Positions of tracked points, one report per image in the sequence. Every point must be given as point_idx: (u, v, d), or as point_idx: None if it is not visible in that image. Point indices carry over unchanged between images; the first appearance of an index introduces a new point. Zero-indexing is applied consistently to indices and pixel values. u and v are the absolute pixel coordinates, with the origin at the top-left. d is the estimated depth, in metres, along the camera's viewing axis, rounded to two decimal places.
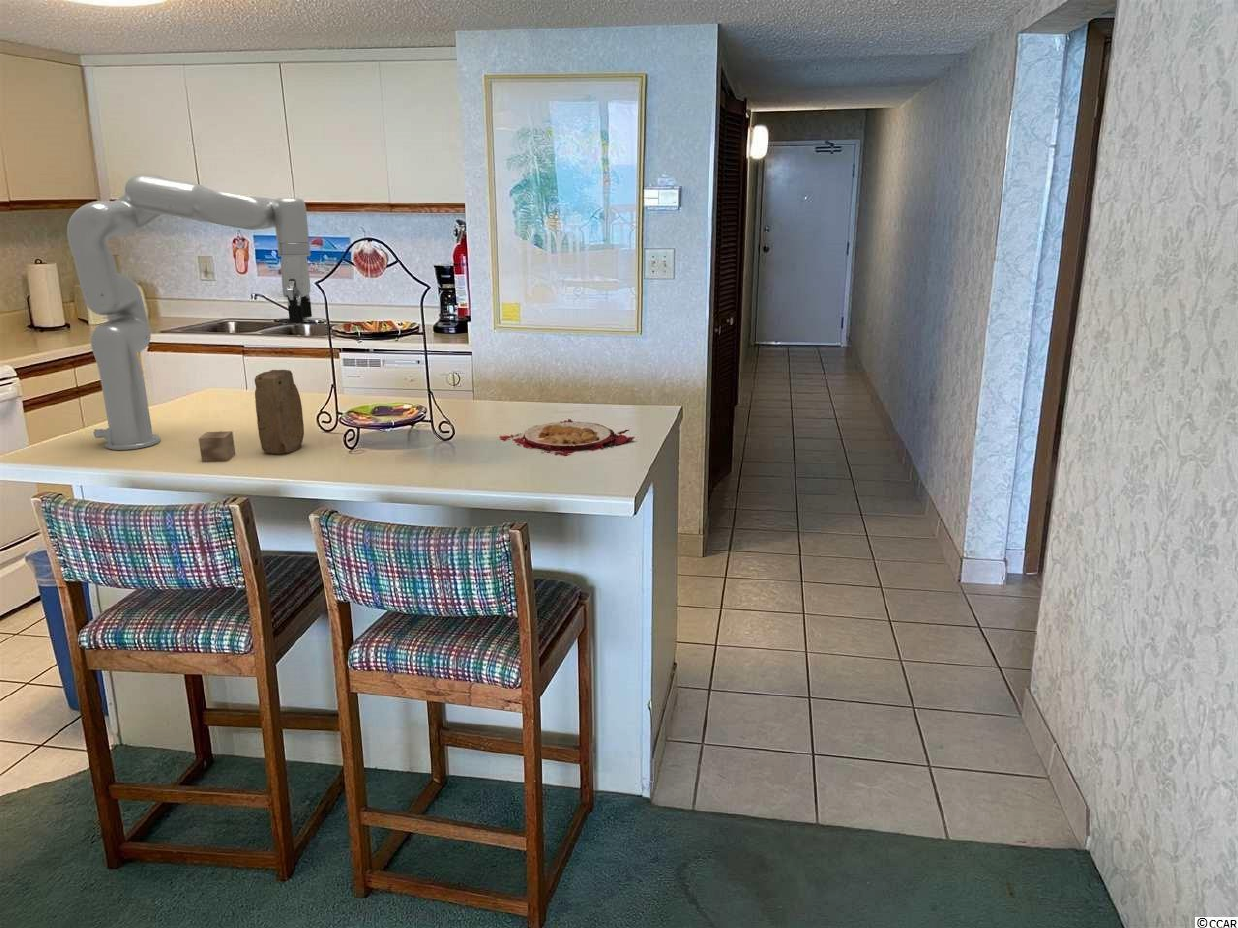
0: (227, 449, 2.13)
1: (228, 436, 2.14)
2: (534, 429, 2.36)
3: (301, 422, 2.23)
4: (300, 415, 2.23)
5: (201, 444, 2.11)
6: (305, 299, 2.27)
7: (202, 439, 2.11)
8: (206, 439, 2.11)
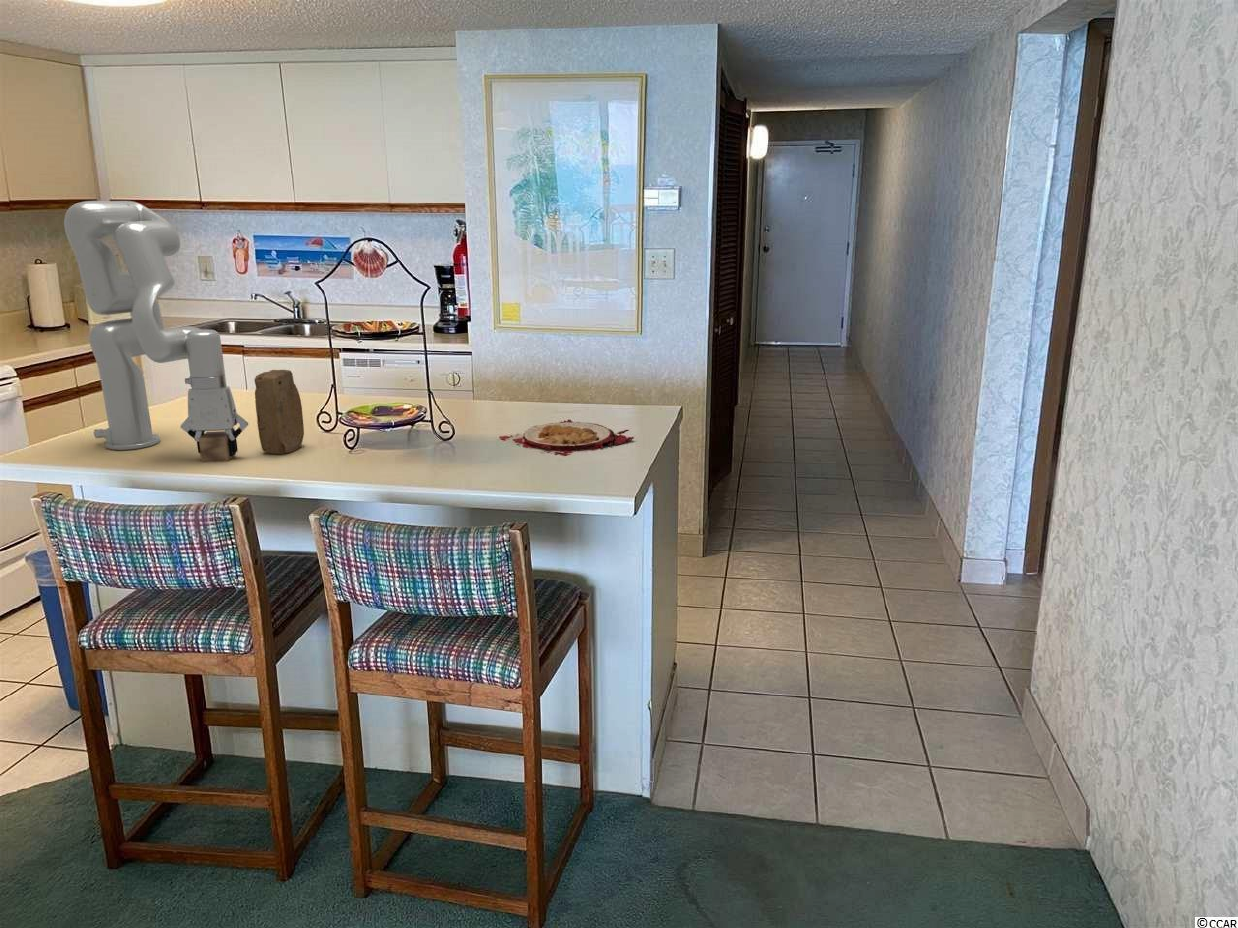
0: (227, 449, 2.13)
1: None
2: (534, 429, 2.36)
3: (301, 422, 2.23)
4: (300, 415, 2.23)
5: (201, 443, 2.11)
6: None
7: (202, 439, 2.11)
8: (206, 439, 2.11)
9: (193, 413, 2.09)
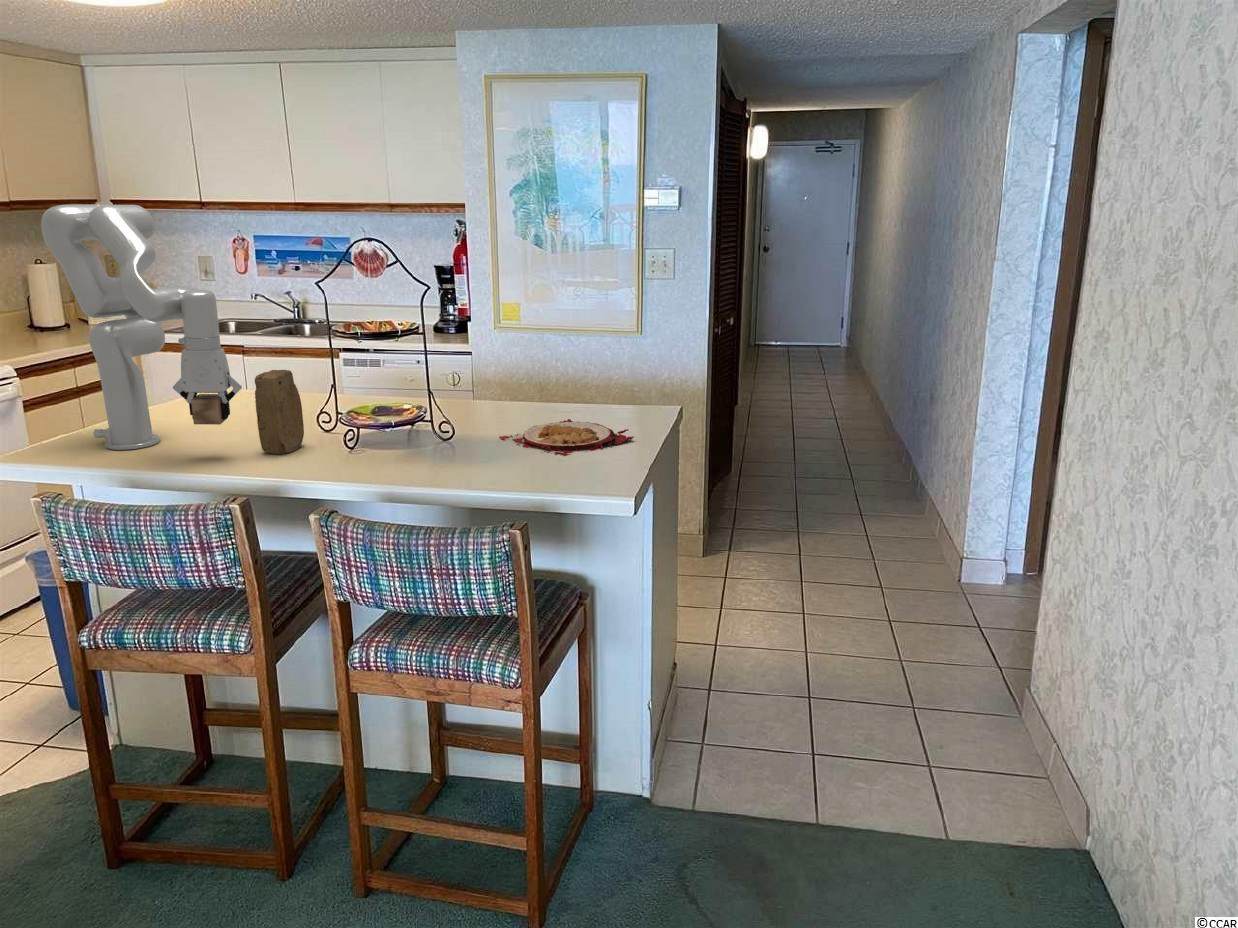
0: (219, 412, 2.10)
1: None
2: (534, 429, 2.36)
3: (301, 422, 2.23)
4: (300, 415, 2.23)
5: (194, 405, 2.09)
6: None
7: (194, 401, 2.09)
8: (199, 401, 2.09)
9: (186, 374, 2.07)
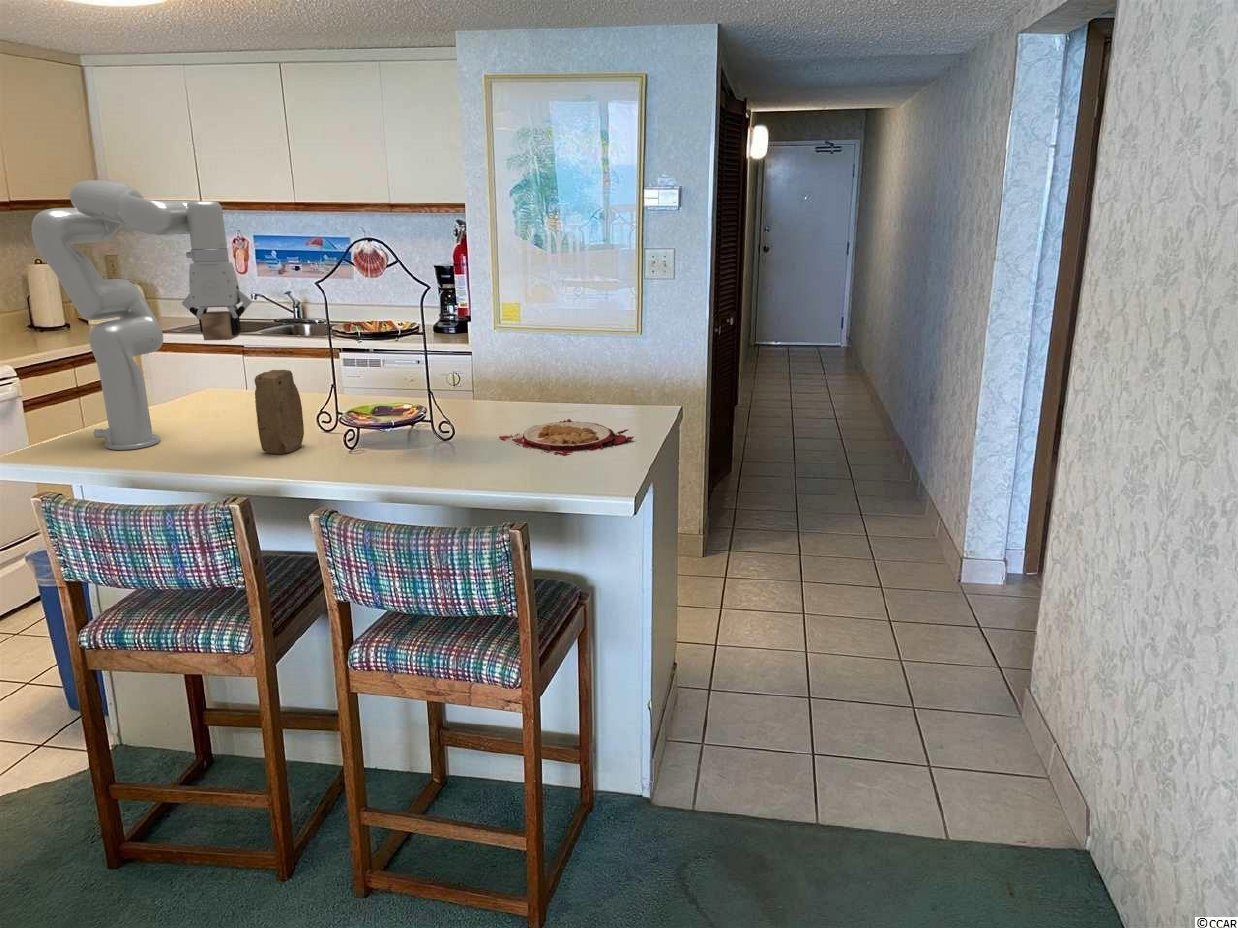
0: (229, 326, 2.06)
1: None
2: (533, 429, 2.37)
3: (301, 422, 2.23)
4: (300, 415, 2.23)
5: (203, 320, 2.05)
6: None
7: (204, 315, 2.04)
8: (208, 315, 2.04)
9: (195, 288, 2.03)
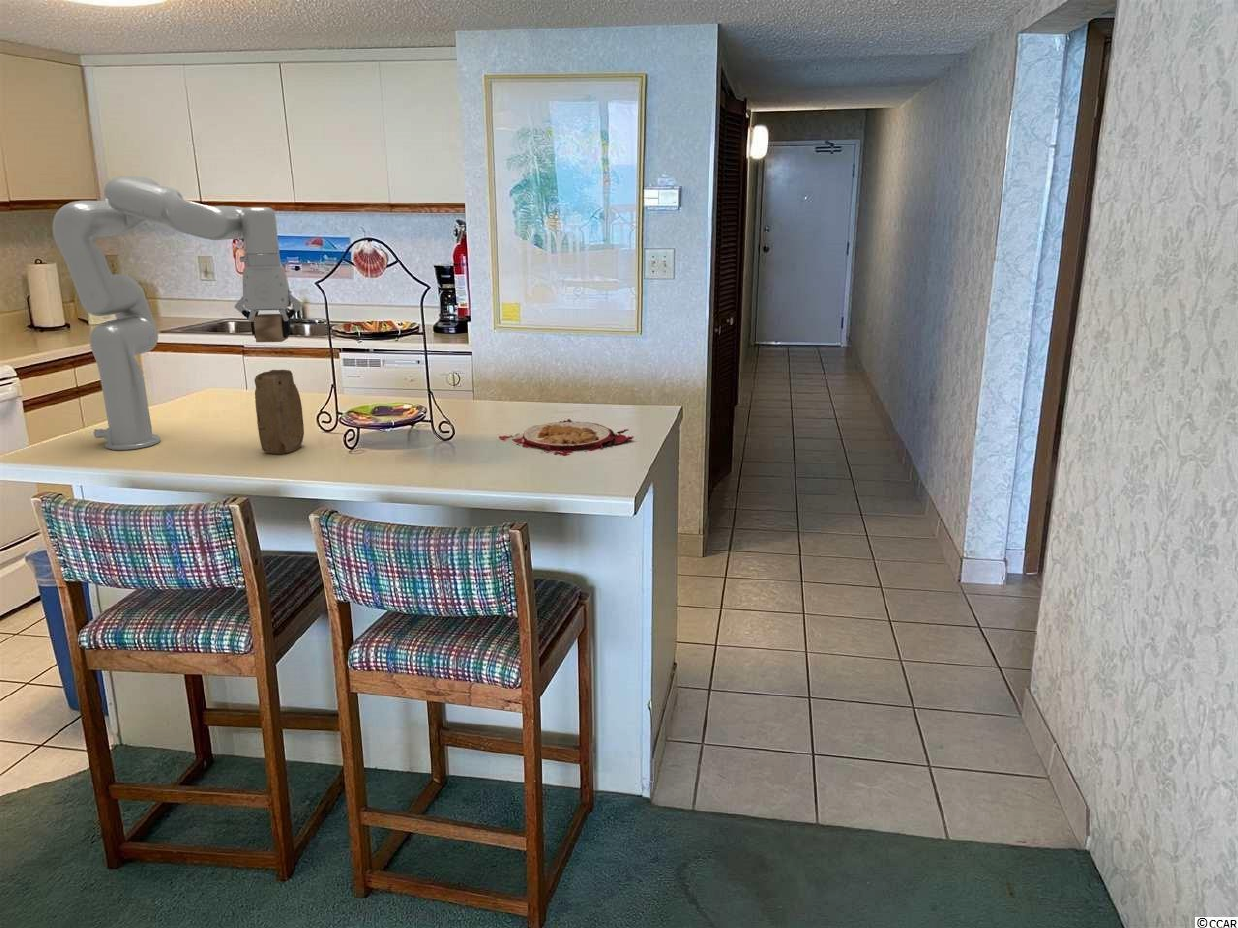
0: (281, 329, 2.12)
1: None
2: (533, 429, 2.37)
3: (301, 422, 2.23)
4: (300, 415, 2.23)
5: (256, 323, 2.10)
6: None
7: (256, 318, 2.10)
8: (260, 318, 2.10)
9: (248, 291, 2.09)
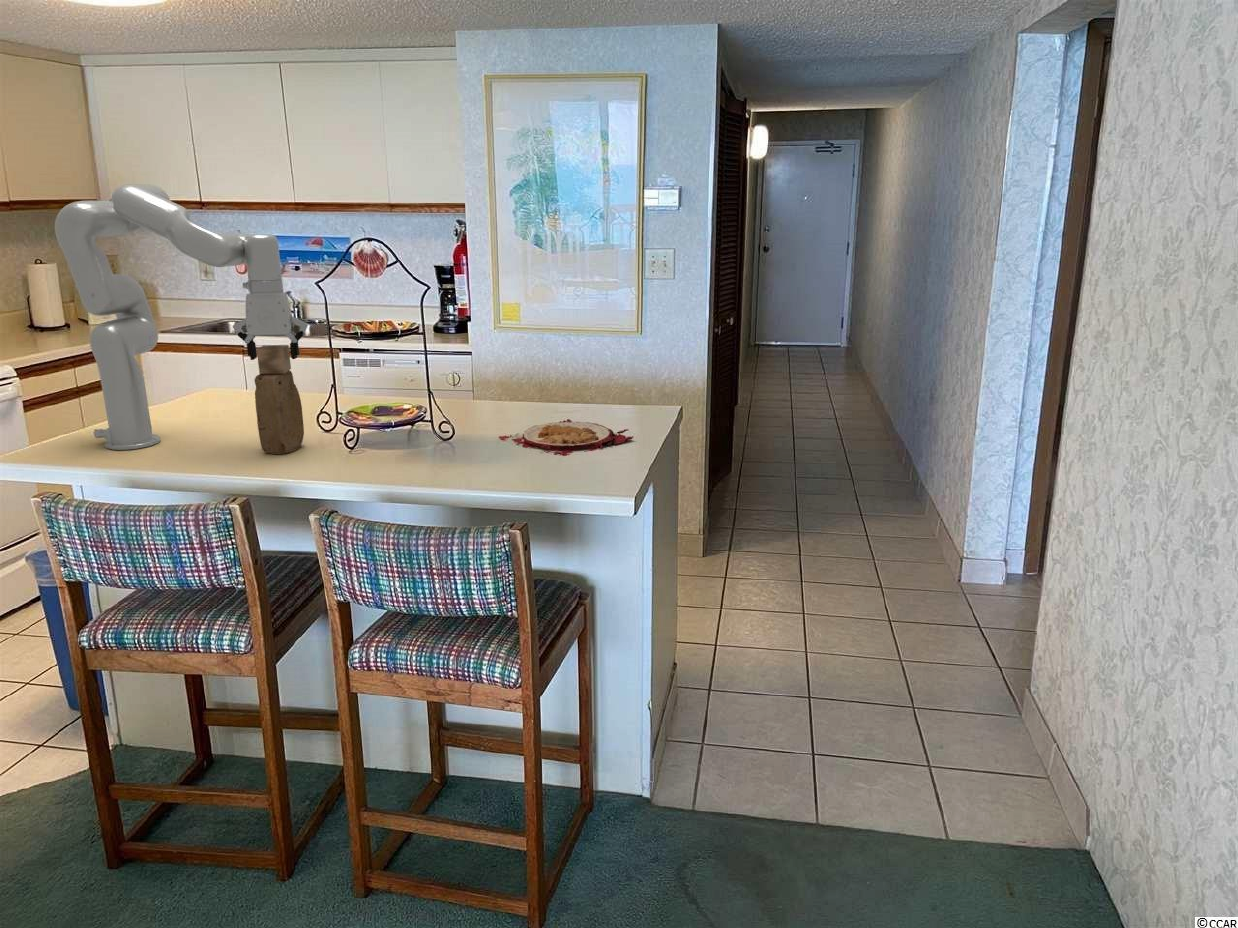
0: (284, 361, 2.14)
1: (285, 348, 2.16)
2: (533, 429, 2.37)
3: (301, 422, 2.23)
4: (300, 415, 2.23)
5: (259, 355, 2.13)
6: (252, 340, 2.15)
7: (260, 350, 2.12)
8: (264, 350, 2.12)
9: (251, 317, 2.10)
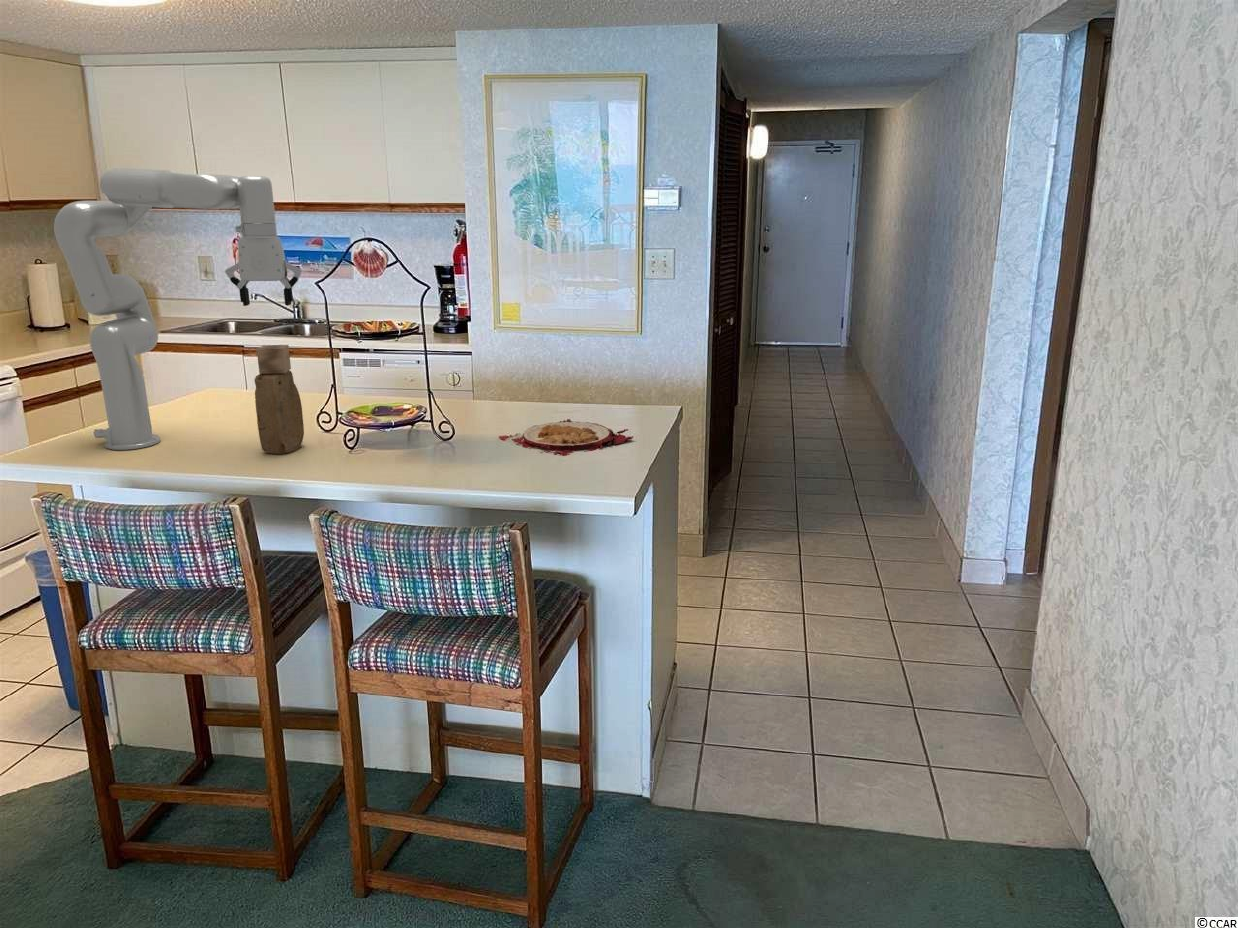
0: (284, 360, 2.14)
1: (285, 348, 2.16)
2: (533, 429, 2.37)
3: (301, 422, 2.23)
4: (300, 415, 2.23)
5: (259, 355, 2.13)
6: (245, 285, 2.11)
7: (260, 350, 2.12)
8: (264, 350, 2.12)
9: (244, 262, 2.07)
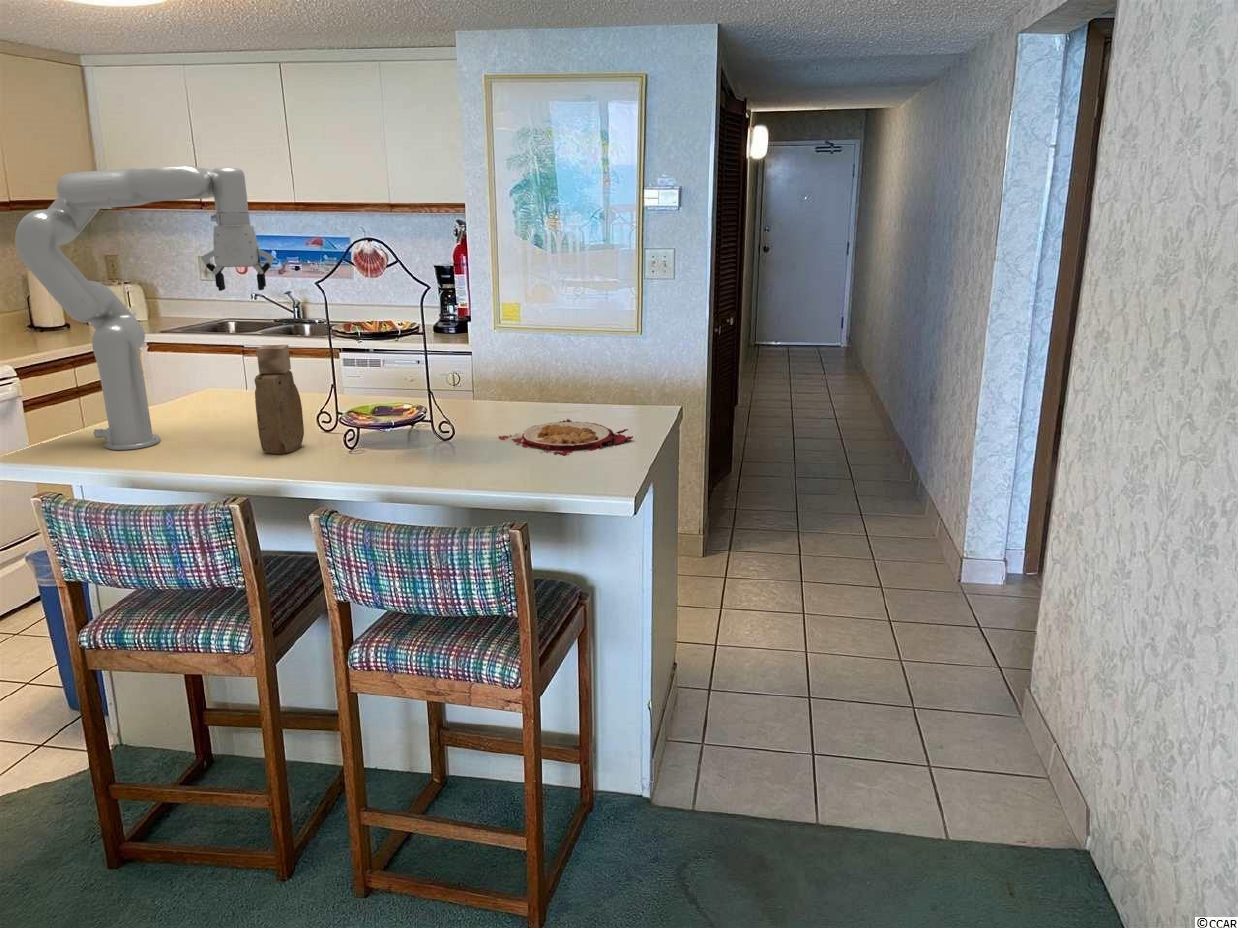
0: (284, 360, 2.14)
1: (285, 348, 2.16)
2: (533, 429, 2.37)
3: (301, 422, 2.23)
4: (300, 415, 2.23)
5: (259, 355, 2.13)
6: (220, 271, 2.24)
7: (260, 350, 2.12)
8: (264, 350, 2.12)
9: (219, 249, 2.19)
